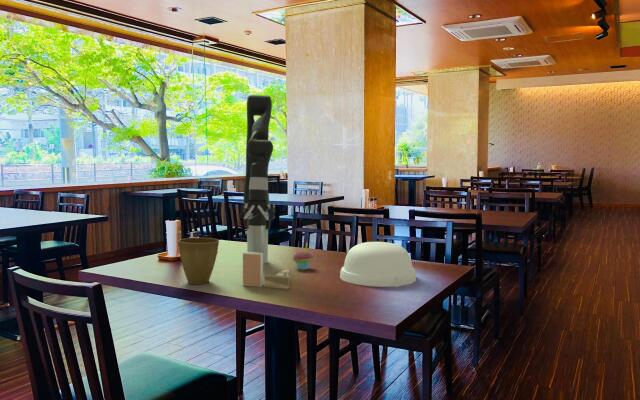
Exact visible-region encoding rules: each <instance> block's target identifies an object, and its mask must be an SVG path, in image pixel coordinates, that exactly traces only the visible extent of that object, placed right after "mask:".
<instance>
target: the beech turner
mask: <svg viewBox="0 0 640 400" xmlns="http://www.w3.org/2000/svg"><path fill="white" fill-rule="evenodd" d="M290 281H291V269H286V268H285V269H282V270H280V272H278V273H277V274H275V275H267V274H266V275H265V276H264V275H263V286H264V288H270V289H271V288H272V289H273V288H274V289H286V290H287V289H290V283H291V282H290Z"/></svg>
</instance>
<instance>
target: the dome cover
mask: <svg viewBox="0 0 640 400" xmlns="http://www.w3.org/2000/svg"><path fill="white" fill-rule="evenodd" d="M339 273H340V275H339V278H340V280H342V281H343V282H346V283H350V284H353V285H359V286H366V287H380V288H381V287H387V288H388V287H389V288H390V287H396V288H398V287H401V286H407V285H410V284H413V283H415V282H416V281H417V272H416V270H415V268H413V262H412V258H411V256H410V254H409V252H408V251H407V249H405V248H404V247H403V246H401V245H399V244H396V243H391V242H386V241H385V242H384V241H366V242H361V243H359V244H356V245H354V246H353V247H351V248H350V249H349V251H348V252H347V254H346V256H345V259H344V264H343V266H342V267H341V269H340V272H339Z"/></svg>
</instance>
